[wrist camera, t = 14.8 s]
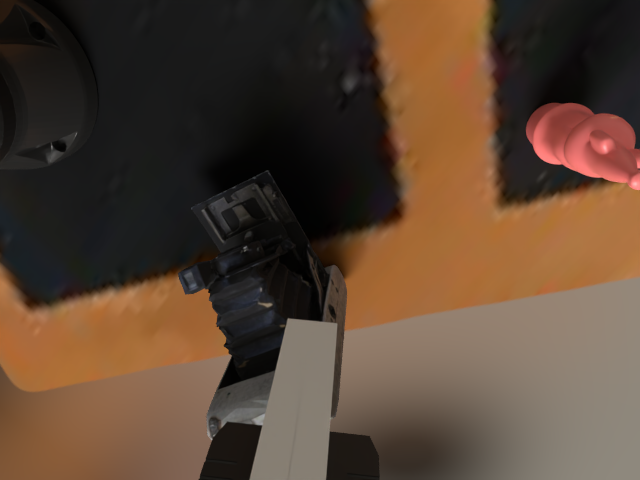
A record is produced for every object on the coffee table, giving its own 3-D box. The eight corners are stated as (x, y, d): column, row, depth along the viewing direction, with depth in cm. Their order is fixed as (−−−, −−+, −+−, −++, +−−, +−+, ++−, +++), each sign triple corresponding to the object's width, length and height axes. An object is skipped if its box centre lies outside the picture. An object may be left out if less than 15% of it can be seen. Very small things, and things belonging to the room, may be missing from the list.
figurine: (595, 110, 39) (719, 161, 25) (557, 163, 41) (653, 236, 28) (544, 84, 38) (643, 122, 25) (508, 139, 40) (581, 201, 27)
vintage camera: (283, 155, 43) (217, 245, 25) (352, 285, 48) (338, 437, 30) (200, 195, 46) (87, 303, 28) (274, 314, 51) (218, 469, 33)
